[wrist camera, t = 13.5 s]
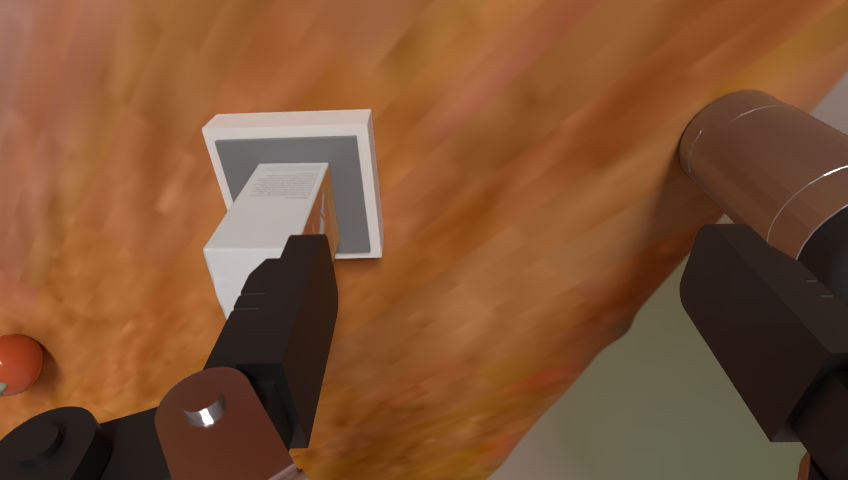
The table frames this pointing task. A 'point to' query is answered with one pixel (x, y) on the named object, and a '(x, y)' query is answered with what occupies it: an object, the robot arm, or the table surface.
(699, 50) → the table surface
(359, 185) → the stack base
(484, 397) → the table surface
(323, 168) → the small box
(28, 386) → the tomato
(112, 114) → the table surface
